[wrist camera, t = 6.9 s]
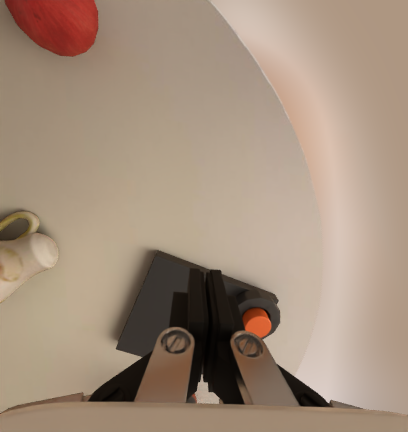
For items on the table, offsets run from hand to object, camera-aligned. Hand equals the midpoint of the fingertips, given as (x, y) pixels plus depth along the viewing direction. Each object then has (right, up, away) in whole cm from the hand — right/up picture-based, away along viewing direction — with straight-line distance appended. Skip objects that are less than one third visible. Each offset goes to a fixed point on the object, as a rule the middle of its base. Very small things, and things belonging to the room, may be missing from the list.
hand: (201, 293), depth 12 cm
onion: (-11, +21, +8) cm, 25 cm away
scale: (-1, -9, +17) cm, 19 cm away
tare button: (+6, -8, +14) cm, 17 cm away
